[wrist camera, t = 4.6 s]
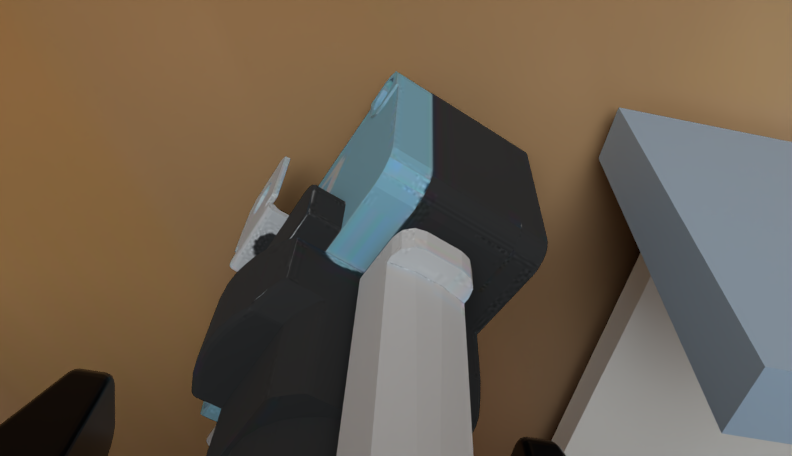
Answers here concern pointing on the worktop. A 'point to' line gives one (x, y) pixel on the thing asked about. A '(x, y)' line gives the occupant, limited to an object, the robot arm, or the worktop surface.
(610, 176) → the tray
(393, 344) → the push button
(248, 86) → the worktop surface
